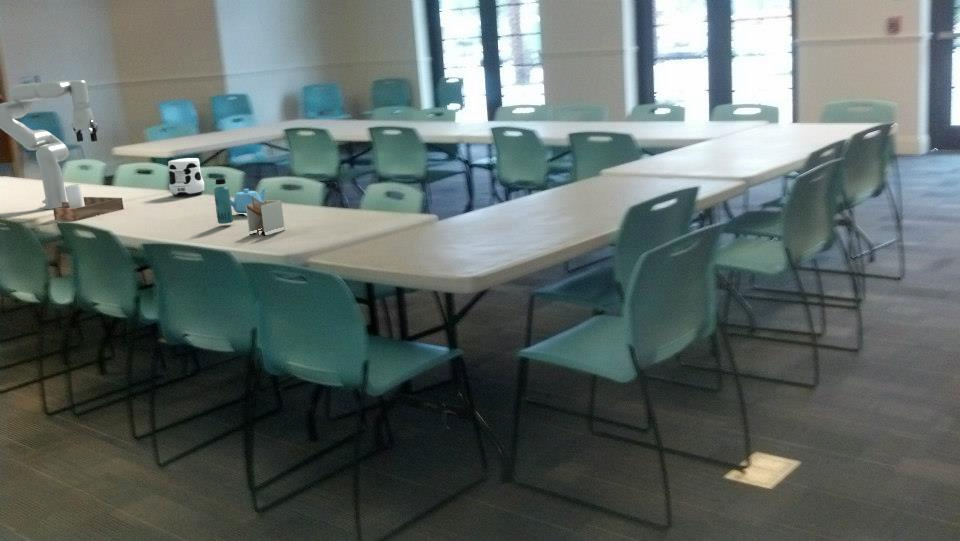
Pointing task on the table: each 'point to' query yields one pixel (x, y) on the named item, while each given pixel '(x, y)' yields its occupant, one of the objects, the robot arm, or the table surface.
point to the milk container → (185, 177)
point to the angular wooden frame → (88, 208)
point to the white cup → (74, 195)
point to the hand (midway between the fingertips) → (87, 141)
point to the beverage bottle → (223, 203)
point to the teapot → (246, 199)
